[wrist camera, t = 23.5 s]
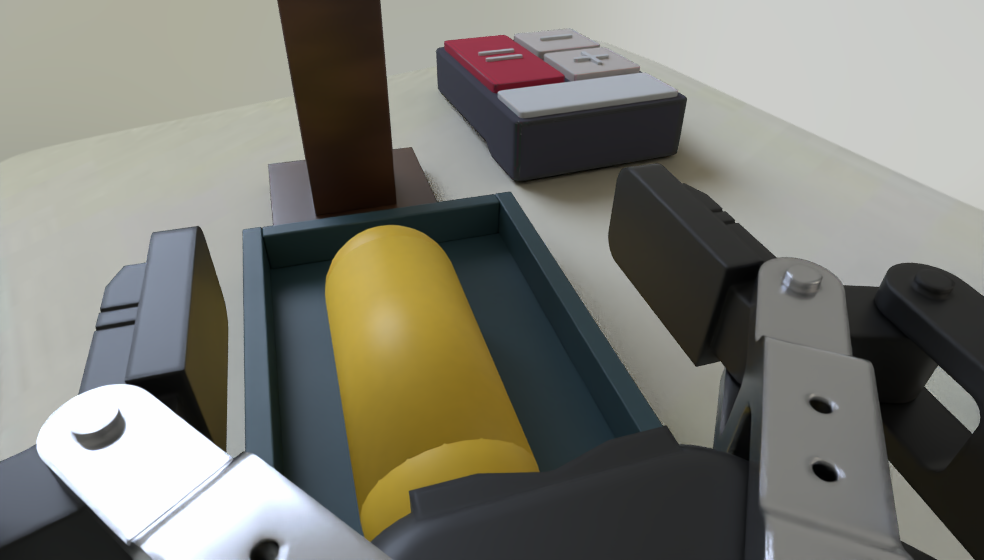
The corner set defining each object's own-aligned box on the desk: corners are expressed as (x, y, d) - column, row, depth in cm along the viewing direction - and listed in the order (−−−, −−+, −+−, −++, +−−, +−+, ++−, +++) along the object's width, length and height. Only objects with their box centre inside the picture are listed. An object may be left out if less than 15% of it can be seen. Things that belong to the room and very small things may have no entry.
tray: (508, 235, 32) (511, 190, 30) (874, 861, 14) (927, 831, 12) (254, 276, 29) (242, 229, 27) (286, 1149, 11) (253, 1161, 9)
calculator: (574, 22, 48) (693, 84, 36) (569, 79, 50) (680, 154, 39) (433, 36, 45) (516, 109, 33) (436, 96, 47) (514, 183, 36)
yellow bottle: (319, 305, 26) (317, 202, 23) (435, 296, 27) (446, 198, 25) (415, 957, 12) (440, 897, 9) (643, 863, 13) (726, 785, 10)
